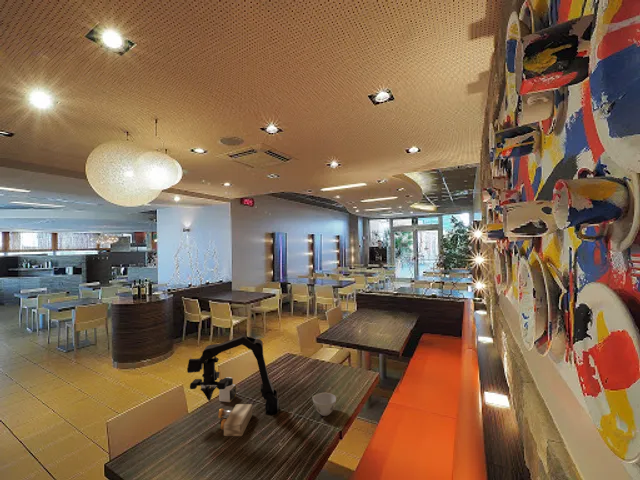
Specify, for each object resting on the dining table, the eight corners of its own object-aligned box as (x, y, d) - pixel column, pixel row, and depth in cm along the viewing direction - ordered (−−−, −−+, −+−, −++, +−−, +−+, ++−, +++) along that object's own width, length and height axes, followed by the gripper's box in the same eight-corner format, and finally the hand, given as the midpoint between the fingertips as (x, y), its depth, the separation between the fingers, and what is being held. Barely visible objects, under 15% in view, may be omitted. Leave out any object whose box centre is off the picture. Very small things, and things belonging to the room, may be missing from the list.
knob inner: (239, 415, 151) (239, 406, 151) (236, 420, 146) (236, 411, 146) (221, 414, 151) (221, 406, 151) (218, 420, 147) (218, 411, 147)
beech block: (252, 414, 152) (252, 404, 152) (241, 436, 135) (241, 424, 135) (236, 414, 153) (236, 404, 153) (223, 435, 136) (223, 424, 136)
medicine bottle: (230, 402, 164) (229, 381, 165) (219, 401, 166) (218, 380, 166) (236, 396, 171) (235, 376, 172) (225, 395, 173) (225, 375, 173)
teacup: (341, 411, 153) (340, 396, 153) (326, 423, 144) (326, 407, 144) (319, 402, 163) (319, 388, 163) (305, 412, 153) (304, 397, 153)
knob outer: (243, 426, 141) (243, 417, 141) (240, 432, 137) (240, 422, 137) (224, 425, 142) (223, 417, 142) (220, 431, 138) (220, 422, 138)
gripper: (231, 364, 157) (232, 392, 157) (199, 364, 158) (199, 392, 158) (224, 373, 146) (224, 403, 146) (189, 373, 147) (189, 403, 147)
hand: (209, 400), depth 149 cm, fingers closed
